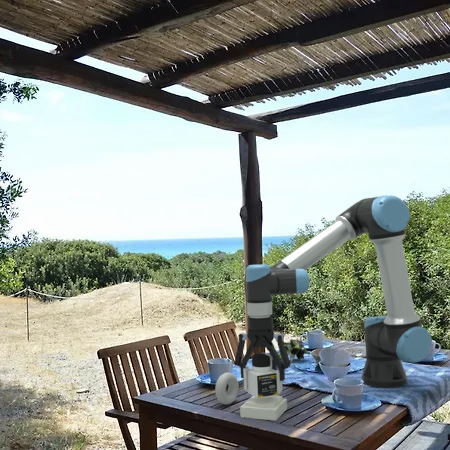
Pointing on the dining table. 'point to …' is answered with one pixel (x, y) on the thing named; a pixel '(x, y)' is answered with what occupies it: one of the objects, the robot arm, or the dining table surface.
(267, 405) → the plinth
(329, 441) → the dining table surface
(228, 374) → the donut
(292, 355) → the passion flower
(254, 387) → the medicine bottle
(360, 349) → the dining table surface
